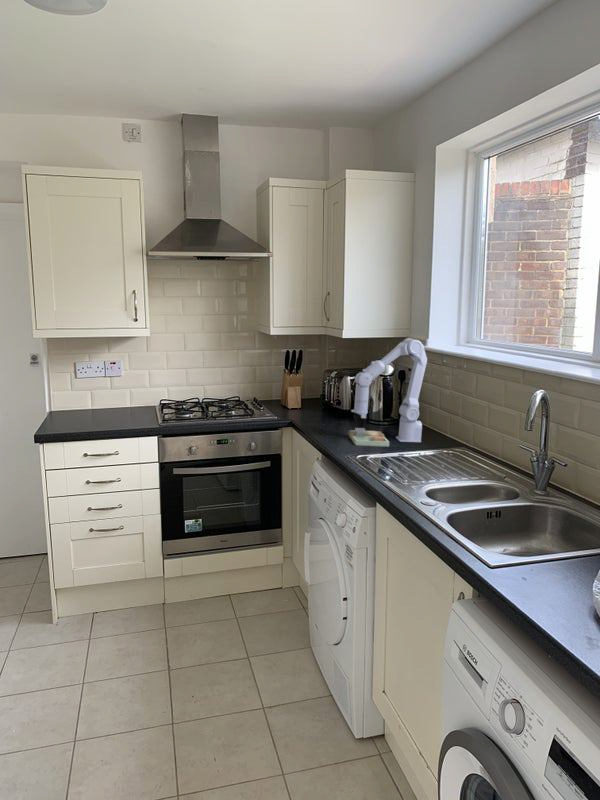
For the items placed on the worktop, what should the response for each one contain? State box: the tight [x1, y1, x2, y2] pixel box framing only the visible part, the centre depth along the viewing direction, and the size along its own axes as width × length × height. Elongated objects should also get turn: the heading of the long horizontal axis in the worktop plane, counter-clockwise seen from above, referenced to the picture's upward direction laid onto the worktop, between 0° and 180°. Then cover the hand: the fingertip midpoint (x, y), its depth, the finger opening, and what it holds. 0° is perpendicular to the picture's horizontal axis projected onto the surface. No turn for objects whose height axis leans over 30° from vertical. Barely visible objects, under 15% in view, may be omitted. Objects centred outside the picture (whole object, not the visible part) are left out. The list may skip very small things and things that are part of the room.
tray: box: [351, 436, 390, 447], centre depth 255 cm, size 14×9×2 cm, turn 95°
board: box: [348, 429, 385, 441], centre depth 264 cm, size 14×8×2 cm, turn 95°
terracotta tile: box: [372, 436, 384, 441], centre depth 256 cm, size 4×4×2 cm
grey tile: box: [354, 427, 366, 437], centre depth 259 cm, size 4×4×2 cm
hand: (359, 431), depth 262 cm, fingers closed
